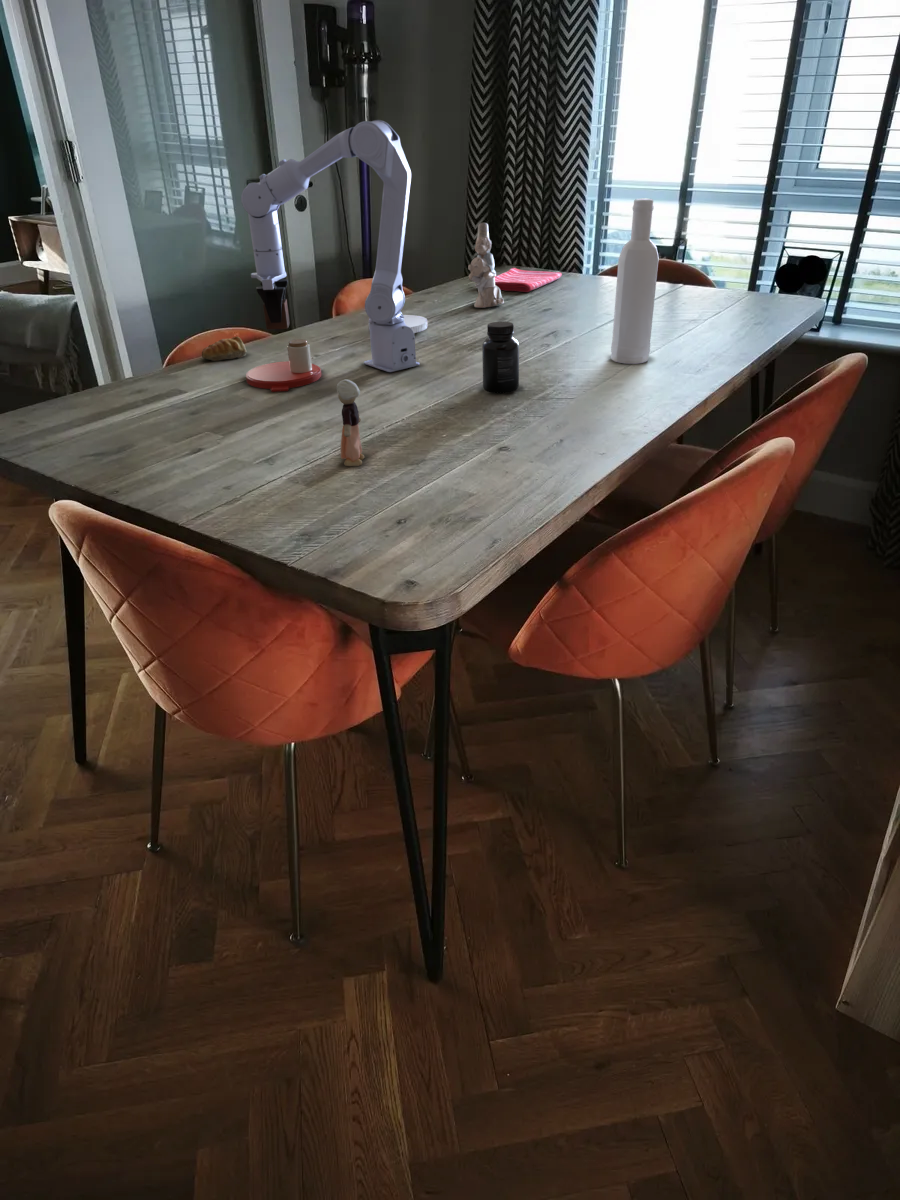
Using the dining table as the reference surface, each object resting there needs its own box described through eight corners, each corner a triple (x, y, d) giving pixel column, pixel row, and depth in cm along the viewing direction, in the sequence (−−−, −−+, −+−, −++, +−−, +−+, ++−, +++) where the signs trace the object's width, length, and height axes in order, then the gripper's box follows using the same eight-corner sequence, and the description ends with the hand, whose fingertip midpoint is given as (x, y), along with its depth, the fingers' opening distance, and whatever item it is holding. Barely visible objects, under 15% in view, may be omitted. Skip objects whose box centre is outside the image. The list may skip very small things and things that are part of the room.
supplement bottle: (522, 385, 154) (524, 320, 148) (513, 395, 149) (514, 329, 142) (488, 382, 156) (488, 318, 150) (478, 393, 151) (477, 327, 144)
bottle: (656, 358, 167) (673, 198, 151) (636, 366, 162) (651, 202, 147) (623, 351, 172) (636, 196, 156) (602, 360, 167) (614, 200, 151)
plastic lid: (359, 337, 189) (358, 326, 188) (385, 323, 200) (384, 313, 199) (413, 341, 184) (412, 330, 183) (436, 327, 195) (436, 316, 194)
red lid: (251, 369, 168) (250, 362, 168) (323, 365, 169) (322, 359, 169) (240, 393, 154) (239, 386, 154) (318, 389, 155) (317, 382, 154)
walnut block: (287, 328, 167) (284, 303, 164) (266, 329, 167) (262, 304, 164) (289, 323, 170) (286, 299, 168) (269, 324, 170) (265, 300, 168)
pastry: (210, 364, 173) (206, 346, 171) (197, 358, 177) (193, 340, 175) (249, 356, 178) (246, 338, 176) (236, 350, 182) (233, 333, 180)
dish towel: (476, 289, 233) (476, 279, 232) (512, 275, 250) (512, 266, 249) (529, 293, 226) (529, 283, 224) (562, 278, 243) (563, 269, 242)
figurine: (483, 301, 219) (482, 220, 209) (509, 304, 215) (509, 222, 205) (464, 307, 213) (463, 225, 203) (490, 310, 209) (490, 226, 199)
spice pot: (316, 370, 162) (313, 341, 159) (297, 374, 159) (293, 345, 156) (305, 365, 165) (301, 337, 162) (286, 370, 162) (282, 341, 159)
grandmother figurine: (342, 453, 126) (333, 373, 120) (366, 452, 127) (359, 372, 120) (340, 472, 120) (331, 389, 113) (366, 471, 120) (358, 387, 113)
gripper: (252, 245, 167) (262, 312, 174) (242, 256, 154) (253, 328, 161) (286, 243, 167) (295, 311, 174) (279, 254, 155) (288, 327, 162)
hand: (277, 319), depth 168 cm, fingers closed on walnut block, 4 cm apart
